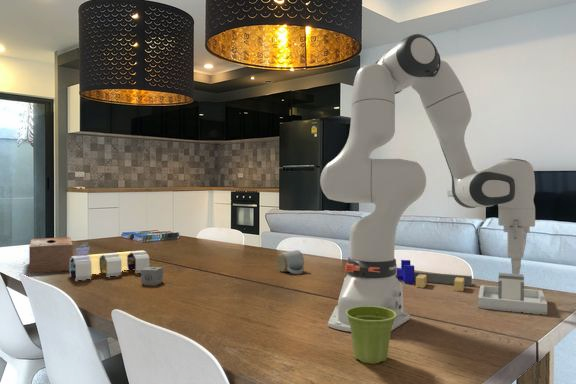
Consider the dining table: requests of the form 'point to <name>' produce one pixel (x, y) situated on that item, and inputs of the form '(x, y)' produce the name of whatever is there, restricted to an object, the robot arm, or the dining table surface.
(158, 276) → the dice cube
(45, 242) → the tissue box cover
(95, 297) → the dining table surface
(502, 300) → the parts tray
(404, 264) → the cable clip
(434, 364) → the dining table surface
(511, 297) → the grey rectangular box
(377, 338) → the plant pot
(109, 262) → the multicoloured piece
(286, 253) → the ceramic mug
